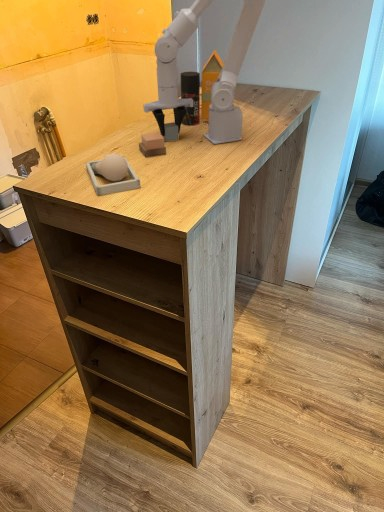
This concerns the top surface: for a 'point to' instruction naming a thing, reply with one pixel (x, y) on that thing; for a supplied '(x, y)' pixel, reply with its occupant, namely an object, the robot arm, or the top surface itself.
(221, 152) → the top surface
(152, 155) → the walnut slab
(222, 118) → the robot arm
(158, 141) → the terracotta slab
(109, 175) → the light bulb
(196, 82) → the deodorant
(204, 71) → the orange juice
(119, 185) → the grey tray rim
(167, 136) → the slate cube
